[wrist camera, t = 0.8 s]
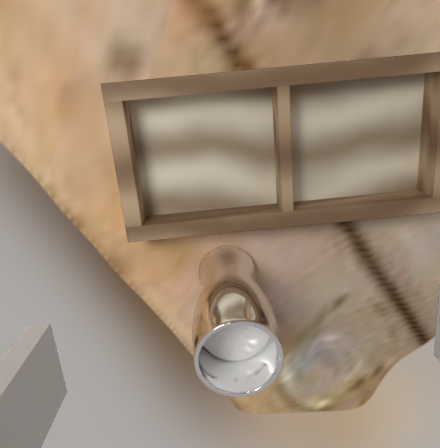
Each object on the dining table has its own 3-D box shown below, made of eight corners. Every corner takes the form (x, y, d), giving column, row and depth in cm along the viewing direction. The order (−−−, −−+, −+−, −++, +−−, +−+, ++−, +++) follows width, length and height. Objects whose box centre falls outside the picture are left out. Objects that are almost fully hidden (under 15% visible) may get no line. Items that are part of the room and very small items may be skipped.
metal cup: (244, 231, 42) (266, 304, 28) (268, 286, 44) (299, 379, 30) (184, 257, 43) (174, 340, 29) (210, 309, 45) (213, 411, 31)
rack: (111, 84, 37) (100, 83, 33) (435, 54, 37) (463, 50, 33) (135, 227, 42) (128, 242, 38) (424, 199, 42) (447, 211, 38)
